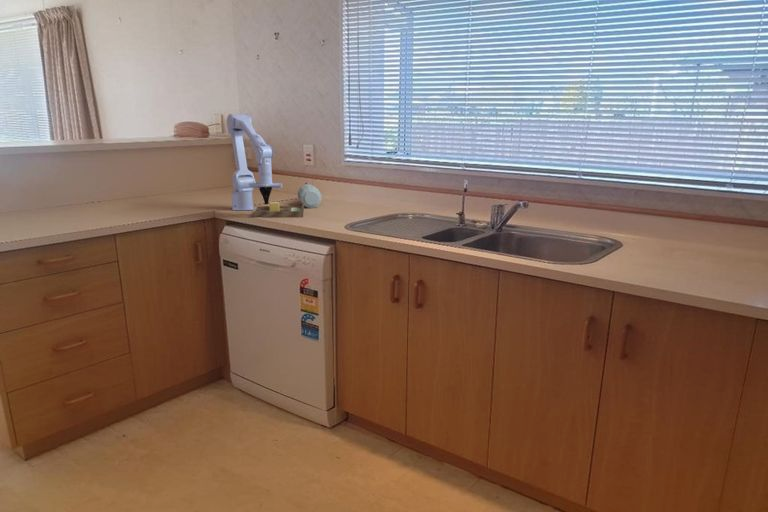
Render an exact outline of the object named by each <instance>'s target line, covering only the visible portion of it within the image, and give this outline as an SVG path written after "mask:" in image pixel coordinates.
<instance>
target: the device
mask: <svg viewBox="0 0 768 512" xmlns="http://www.w3.org/2000/svg"><path fill="white" fill-rule="evenodd" d="M298 189H299V190H298V191H297V198H298V200H299V202H300V203H301V204H302V203H304V207H305V208H307V209H314V208H316V207H318V206H320V204H321V202H322V193H321V192H320V191H321V190H319V188H317V187H316V186H314V185H313V184H311V183H310V184H309V183H307V182H304V184H303V185H302V186H300V187H299V188H298Z"/></svg>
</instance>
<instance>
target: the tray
mask: <svg viewBox="0 0 768 512" xmlns="http://www.w3.org/2000/svg"><path fill="white" fill-rule="evenodd" d="M279 210H280V211H270V207H269V205H268V206H267V205H266V206H265V205H263V206H262V205H261V206H258V205H257V206H256V208H255V211H253V218H254V217H265V218H303V217H304V212H305V206H304V203H301V205H279Z"/></svg>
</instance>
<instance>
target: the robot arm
mask: <svg viewBox="0 0 768 512" xmlns="http://www.w3.org/2000/svg"><path fill="white" fill-rule="evenodd" d="M252 122H253V121H252V118H251V115H250V114H248V113H243V114H242V113H241V114H239V113H238V114H237V113H236V114H234V113H233V114H232V113H229V114H227V118H226V127H227V132H228V134H230V136H231V142H232V149H233V156H234V162H235V167H236V170H235V171H234V172H233V173H232V175H231V185H232V189H234V190H232V192H231V203H232V204H231V206H232V211H253V210H254V209H255V208H256V207H255V206H254V203H253V199H254V198H253V191H254V189H259V192H260V194H261V196H262V198H263V202H264V205H269V202H270V195H271V193H272V190H273V189H283V183H282V182H273V173H272V171H273V170H272V167H273V166H272V159H273V158H274V155H275V154H274V148H273V147H272V145H270V144H268V143H266V142H265V140H264V139H263V136H261V135H260V134H258V133H257V132H256V131H255V128H254V127H253V125H252V124H253V123H252ZM244 134H246V135H247V136H248V139H249V140H248V142H249V144H250V145H251V146H252V148H253V150H254V151H255V152H254V156H255V158H256V164H257V165H258V166H257V167H258V182H256V179H255V177H254V172H252V171H251V170H249V169H248V162H247V157H246V151H245V144H244V138H243V135H244Z"/></svg>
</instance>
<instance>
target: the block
mask: <svg viewBox="0 0 768 512" xmlns="http://www.w3.org/2000/svg"><path fill="white" fill-rule="evenodd" d="M268 206H269V207H270V211H280V210H279V206H280V201H269V202H268Z"/></svg>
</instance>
